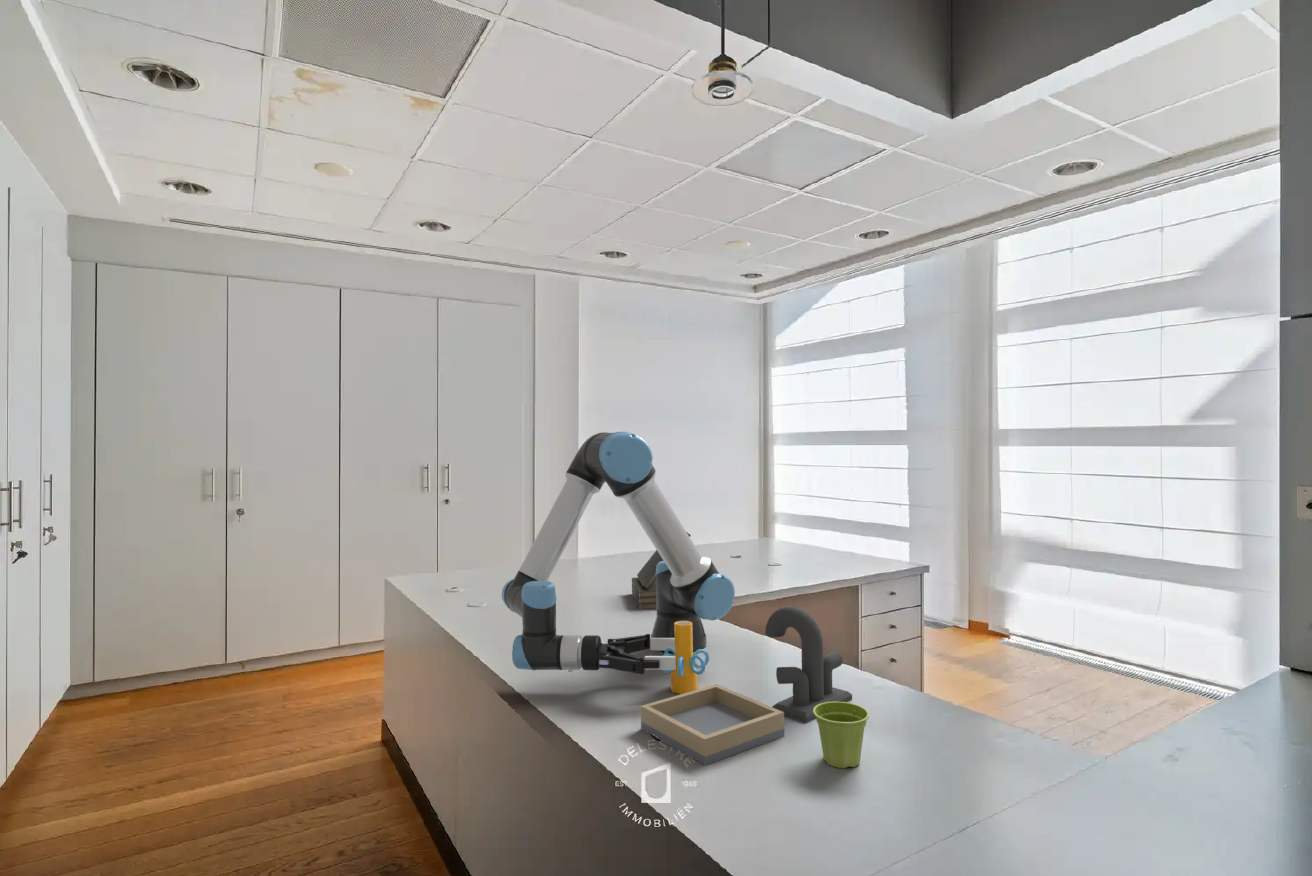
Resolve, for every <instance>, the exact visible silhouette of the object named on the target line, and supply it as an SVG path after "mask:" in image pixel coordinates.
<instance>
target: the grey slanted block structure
mask: <svg viewBox="0 0 1312 876" xmlns="http://www.w3.org/2000/svg"><path fill="white" fill-rule="evenodd" d="M687 534H688V535H689V537H690V538H691V536H692V535H691V534H690V533H688V532H687ZM661 561H664V560H663V559H662V557H661V556H660V554H659V553H658V551H657V549H656V550H655V551H654V553H652V555H651V556H650V558H649V559H648V560H647V561H646V563H645V564H644V565H643V566H642V567H641V569H640V570H639V571H638V573H637V574H636V576H637V577H631V596H632V597H633V599H634V602H635V604H636V607H637V609H638V610H654V609H655V610H657V609H656V608H657V605H656V577H655V574H656V566H657V564H658V563H659V562H661Z"/></svg>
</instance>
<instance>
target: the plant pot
mask: <svg viewBox="0 0 1312 876" xmlns="http://www.w3.org/2000/svg"><path fill="white" fill-rule="evenodd" d="M813 713H814V715H815V716H816V720H815V721H816V722H817V726H818V731H819V737H820V742H821V743H820V744H821V749H822V750H821V751H822V756H823V760H824V761H825V762H826V763H827V765H829V766H831V767H834V768H838V769H847V768H850V767H852V768H855V767H857V766H859V765H860V762H861V755H862V748H863V742H864V741H863V740H864V732H865V727H866V726H867V721H868V719H869V718H870V713H869V710H868V709H866V708H865V707H864V706H861V705H858V704H856V703H852V702H849V701H848V702H825V703H821V704H818V705H817V706H815V707H814V709H813Z"/></svg>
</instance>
